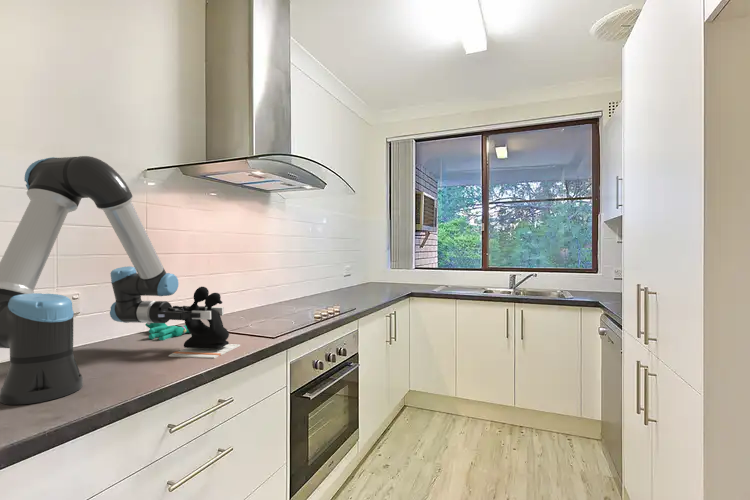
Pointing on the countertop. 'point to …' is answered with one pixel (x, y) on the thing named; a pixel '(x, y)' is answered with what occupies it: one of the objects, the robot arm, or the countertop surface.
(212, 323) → the figurine
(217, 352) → the mat
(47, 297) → the robot arm
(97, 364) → the countertop surface
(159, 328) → the toy
